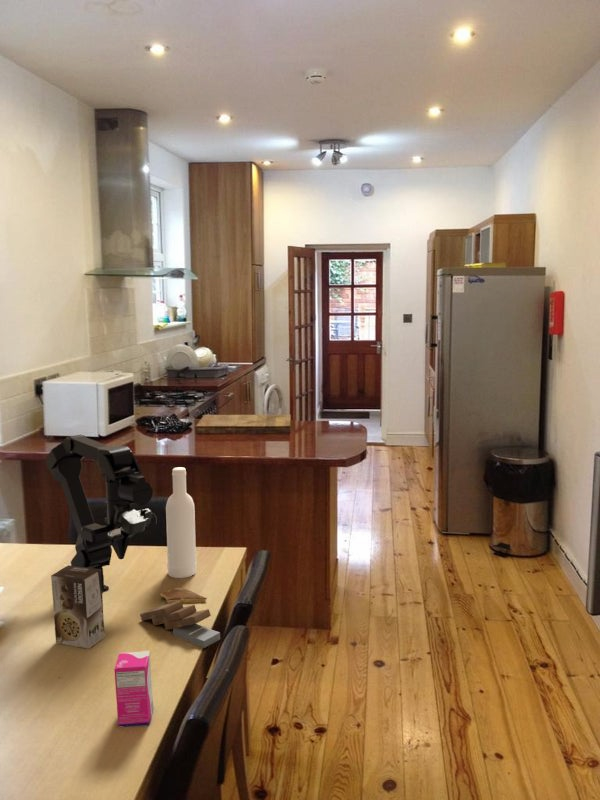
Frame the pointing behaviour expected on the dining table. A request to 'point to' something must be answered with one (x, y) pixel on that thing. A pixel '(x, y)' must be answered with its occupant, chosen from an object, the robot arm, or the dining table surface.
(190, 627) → the domino
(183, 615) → the domino
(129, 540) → the robot arm
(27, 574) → the dining table surface
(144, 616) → the domino
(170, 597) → the shard
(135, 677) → the supplement box
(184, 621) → the domino
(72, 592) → the coffee box
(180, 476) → the bottle
